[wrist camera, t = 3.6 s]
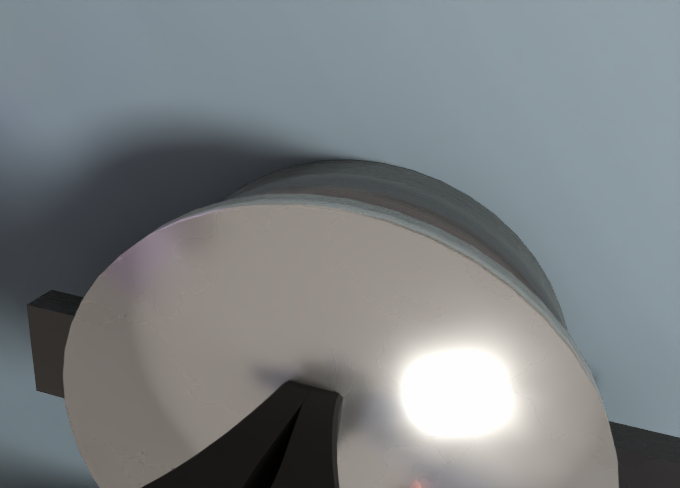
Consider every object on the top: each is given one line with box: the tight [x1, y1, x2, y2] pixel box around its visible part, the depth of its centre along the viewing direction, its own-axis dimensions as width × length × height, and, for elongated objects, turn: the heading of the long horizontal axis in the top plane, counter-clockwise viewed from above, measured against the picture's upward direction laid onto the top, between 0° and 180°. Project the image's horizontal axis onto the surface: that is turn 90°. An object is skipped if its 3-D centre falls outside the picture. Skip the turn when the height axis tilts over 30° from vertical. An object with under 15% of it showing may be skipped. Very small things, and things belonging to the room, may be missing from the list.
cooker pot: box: [27, 160, 680, 488], centre depth 16 cm, size 14×18×4 cm
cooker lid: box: [63, 194, 619, 488], centre depth 13 cm, size 14×14×2 cm
